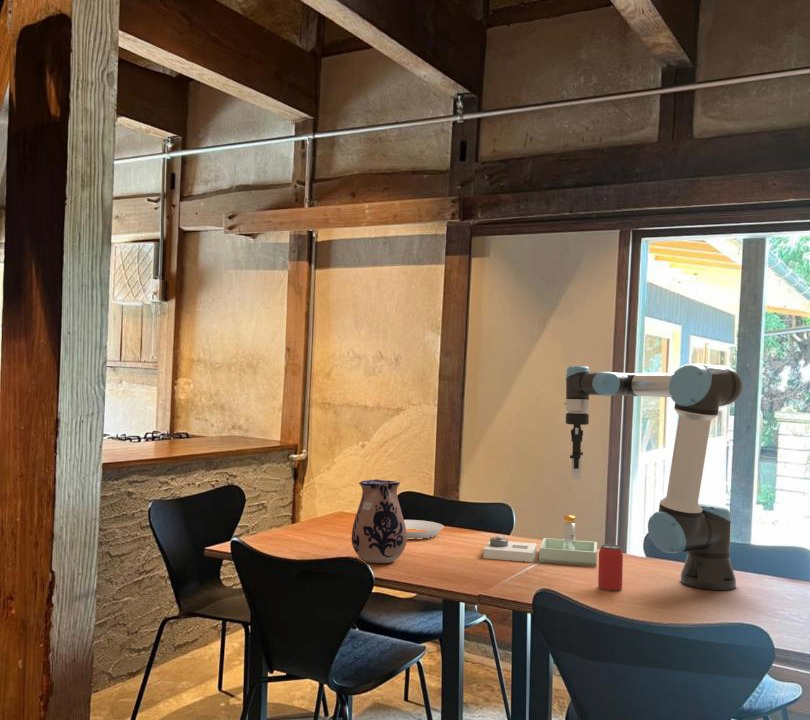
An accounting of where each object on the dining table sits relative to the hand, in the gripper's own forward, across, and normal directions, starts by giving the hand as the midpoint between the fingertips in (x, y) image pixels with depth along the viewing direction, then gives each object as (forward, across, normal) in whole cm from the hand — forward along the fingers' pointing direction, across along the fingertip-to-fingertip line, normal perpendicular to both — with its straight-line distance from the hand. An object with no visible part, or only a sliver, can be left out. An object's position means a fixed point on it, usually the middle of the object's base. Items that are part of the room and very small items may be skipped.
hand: (576, 476), depth 262 cm
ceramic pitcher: (+27, +24, -62) cm, 71 cm away
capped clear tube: (+26, 0, -2) cm, 26 cm away
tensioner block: (+27, +2, -21) cm, 34 cm away
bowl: (+27, -21, -61) cm, 70 cm away
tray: (+27, 0, -2) cm, 27 cm away
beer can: (+28, +36, +10) cm, 47 cm away
